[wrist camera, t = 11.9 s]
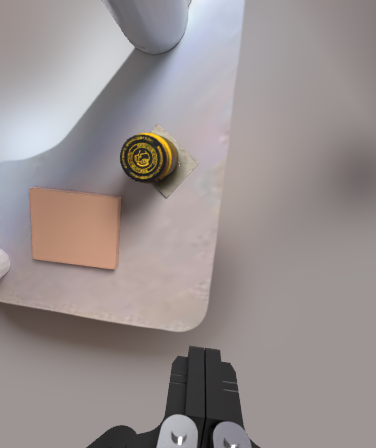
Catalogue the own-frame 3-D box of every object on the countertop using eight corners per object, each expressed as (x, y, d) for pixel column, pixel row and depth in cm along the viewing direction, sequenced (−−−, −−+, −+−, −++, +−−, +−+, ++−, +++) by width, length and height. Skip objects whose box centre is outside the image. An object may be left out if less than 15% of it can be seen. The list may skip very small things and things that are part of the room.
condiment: (157, 123, 40) (139, 112, 28) (198, 163, 41) (197, 168, 29) (126, 160, 41) (97, 163, 30) (167, 197, 42) (153, 214, 31)
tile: (117, 198, 41) (29, 188, 41) (115, 269, 44) (32, 258, 45) (122, 196, 43) (37, 186, 44) (119, 263, 46) (40, 253, 47)
